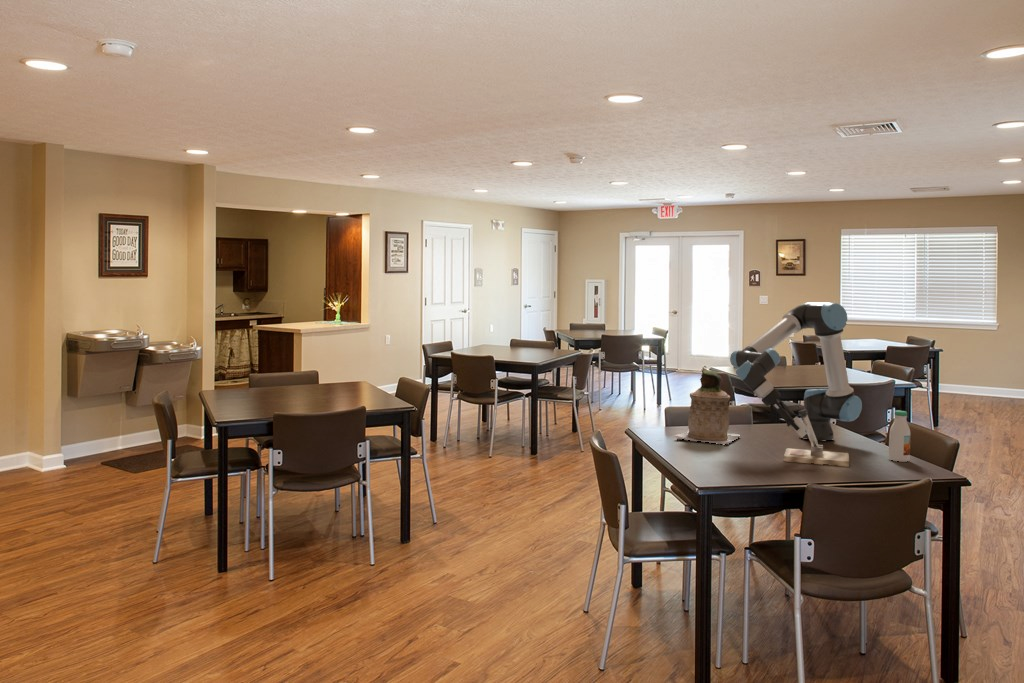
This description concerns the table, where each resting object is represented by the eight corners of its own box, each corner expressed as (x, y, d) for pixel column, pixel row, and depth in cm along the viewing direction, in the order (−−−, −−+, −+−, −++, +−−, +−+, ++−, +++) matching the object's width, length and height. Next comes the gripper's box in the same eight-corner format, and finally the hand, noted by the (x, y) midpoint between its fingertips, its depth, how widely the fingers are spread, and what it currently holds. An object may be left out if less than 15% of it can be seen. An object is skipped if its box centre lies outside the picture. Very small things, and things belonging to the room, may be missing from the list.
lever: (813, 454, 325) (797, 412, 327) (813, 453, 329) (798, 411, 330) (822, 452, 324) (806, 409, 326) (822, 450, 327) (806, 408, 329)
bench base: (783, 461, 323) (784, 447, 323) (786, 452, 340) (786, 439, 339) (849, 466, 314) (849, 452, 314) (848, 458, 331) (848, 444, 330)
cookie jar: (727, 446, 352) (730, 373, 350) (673, 440, 365) (674, 369, 363) (742, 438, 374) (744, 368, 372) (690, 432, 386) (691, 365, 384)
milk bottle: (896, 462, 323) (898, 412, 321) (884, 458, 330) (886, 409, 329) (913, 462, 324) (916, 412, 323) (900, 458, 332) (903, 409, 331)
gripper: (762, 396, 345) (799, 433, 340) (757, 403, 322) (796, 444, 317) (776, 384, 343) (813, 422, 338) (772, 391, 319) (811, 431, 315)
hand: (805, 432), depth 328 cm, fingers open, 13 cm apart
